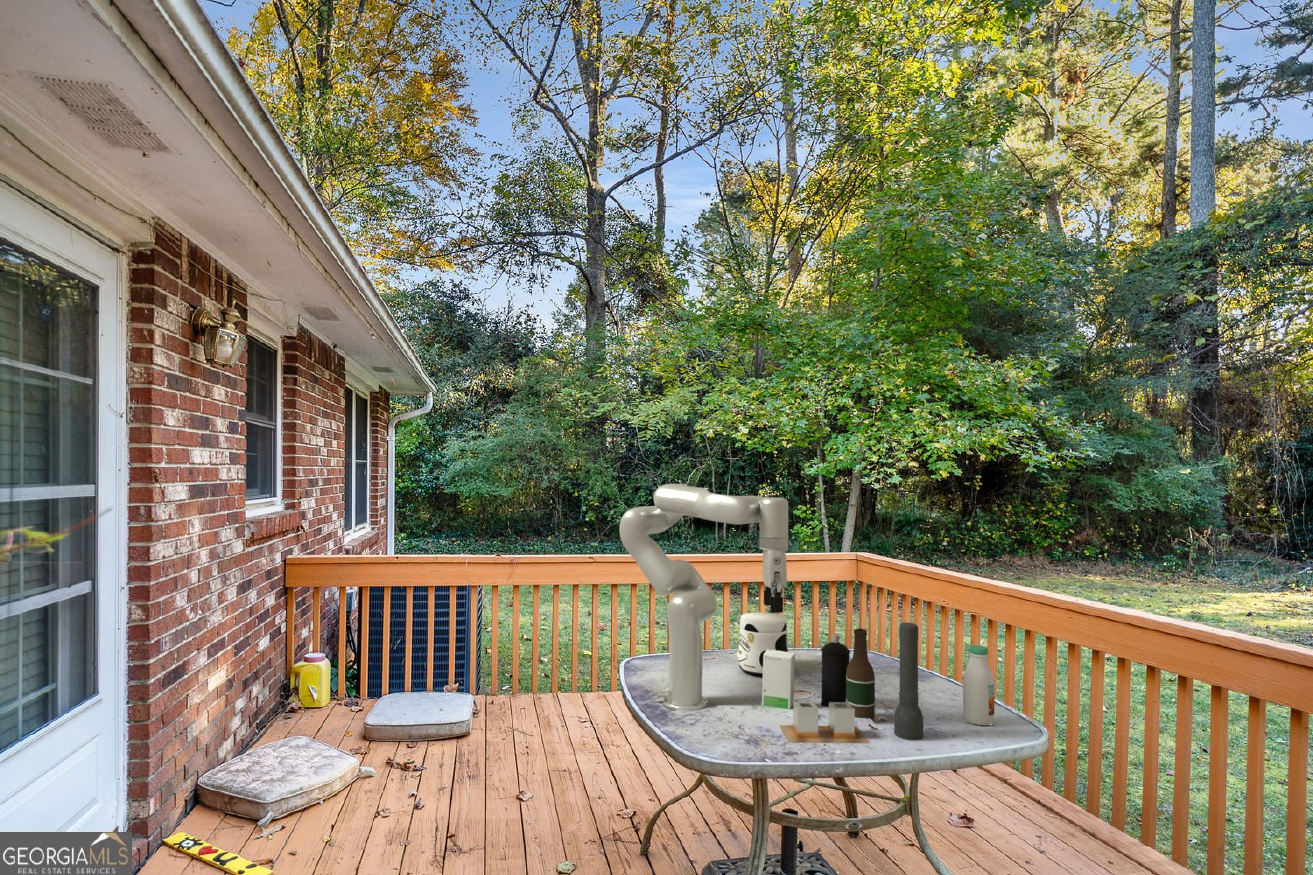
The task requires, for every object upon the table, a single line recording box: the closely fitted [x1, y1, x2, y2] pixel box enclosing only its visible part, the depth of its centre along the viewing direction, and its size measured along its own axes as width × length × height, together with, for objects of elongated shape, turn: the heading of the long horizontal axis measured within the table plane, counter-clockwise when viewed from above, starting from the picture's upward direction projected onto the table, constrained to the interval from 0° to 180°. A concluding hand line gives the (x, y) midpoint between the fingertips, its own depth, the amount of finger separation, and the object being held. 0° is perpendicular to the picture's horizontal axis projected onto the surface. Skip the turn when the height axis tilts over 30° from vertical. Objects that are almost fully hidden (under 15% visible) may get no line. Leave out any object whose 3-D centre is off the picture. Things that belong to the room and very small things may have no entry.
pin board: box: [779, 724, 871, 744], centre depth 171 cm, size 20×11×6 cm, turn 91°
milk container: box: [736, 611, 789, 676], centre depth 229 cm, size 17×17×18 cm
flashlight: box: [893, 622, 924, 741], centre depth 176 cm, size 7×28×7 cm
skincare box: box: [761, 649, 796, 710], centre depth 193 cm, size 8×7×16 cm
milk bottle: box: [962, 644, 996, 726], centre depth 186 cm, size 8×8×20 cm
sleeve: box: [827, 702, 856, 738], centre depth 171 cm, size 5×5×7 cm
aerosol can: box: [820, 634, 851, 708], centre depth 197 cm, size 8×8×20 cm
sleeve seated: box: [792, 701, 819, 738], centre depth 171 cm, size 5×5×7 cm
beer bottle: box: [846, 628, 876, 722], centre depth 187 cm, size 8×8×24 cm
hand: (773, 608), depth 182 cm, fingers open, 9 cm apart
